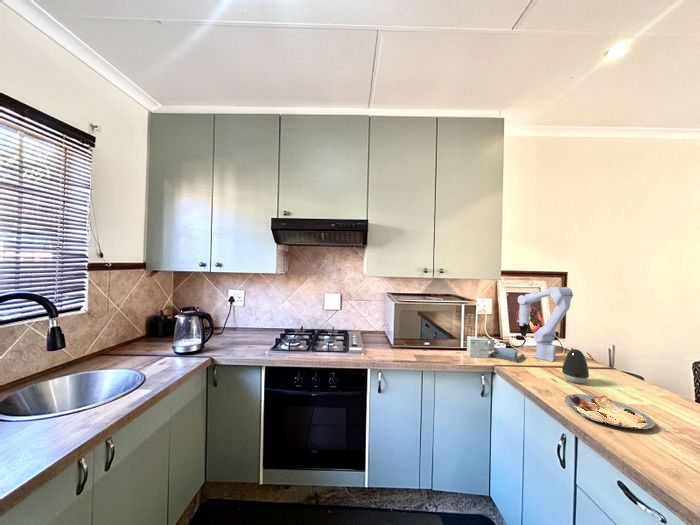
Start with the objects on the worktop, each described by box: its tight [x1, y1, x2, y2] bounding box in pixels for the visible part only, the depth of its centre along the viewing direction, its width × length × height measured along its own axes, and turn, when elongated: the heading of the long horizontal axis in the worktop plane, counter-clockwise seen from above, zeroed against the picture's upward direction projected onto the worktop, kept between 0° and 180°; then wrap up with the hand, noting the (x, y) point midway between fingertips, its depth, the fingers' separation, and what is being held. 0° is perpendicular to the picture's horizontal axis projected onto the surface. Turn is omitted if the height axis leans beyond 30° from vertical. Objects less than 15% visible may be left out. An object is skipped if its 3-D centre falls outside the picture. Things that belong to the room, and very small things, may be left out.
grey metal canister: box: [488, 338, 496, 351], centre depth 195 cm, size 5×5×6 cm
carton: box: [497, 346, 519, 358], centre depth 180 cm, size 9×8×4 cm
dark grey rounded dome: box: [561, 347, 590, 384], centre depth 145 cm, size 10×10×15 cm
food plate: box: [564, 393, 655, 430], centre depth 113 cm, size 25×23×4 cm
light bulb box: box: [466, 335, 490, 359], centre depth 180 cm, size 11×7×11 cm, turn 86°
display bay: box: [490, 348, 525, 364], centre depth 180 cm, size 14×13×2 cm
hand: (523, 335), depth 195 cm, fingers closed
